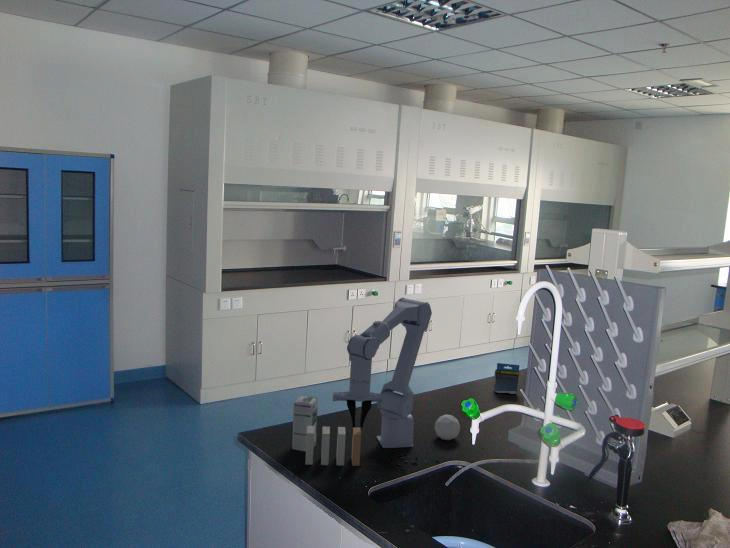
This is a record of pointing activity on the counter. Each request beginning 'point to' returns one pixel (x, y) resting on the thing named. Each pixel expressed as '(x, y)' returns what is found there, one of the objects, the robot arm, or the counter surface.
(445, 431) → the ball
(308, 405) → the syrup box
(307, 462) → the tile
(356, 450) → the tile
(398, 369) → the robot arm
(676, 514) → the counter surface
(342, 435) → the tile
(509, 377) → the label tape box
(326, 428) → the tile
